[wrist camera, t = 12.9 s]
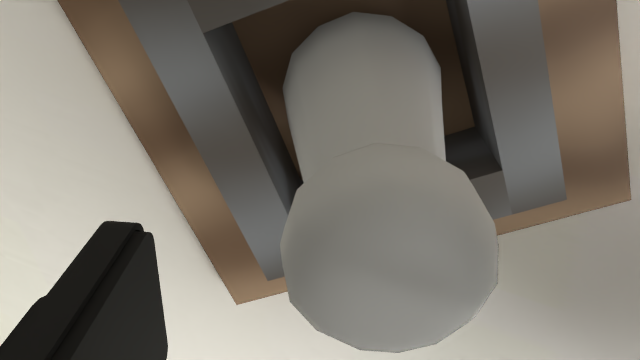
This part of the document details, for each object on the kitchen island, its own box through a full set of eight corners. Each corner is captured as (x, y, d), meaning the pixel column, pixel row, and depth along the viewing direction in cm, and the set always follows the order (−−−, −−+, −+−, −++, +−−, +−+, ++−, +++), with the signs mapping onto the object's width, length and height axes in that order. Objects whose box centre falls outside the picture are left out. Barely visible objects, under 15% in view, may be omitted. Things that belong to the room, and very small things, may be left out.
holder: (618, 186, 24) (684, 253, 19) (240, 289, 28) (222, 365, 23) (570, -359, 15) (674, -472, 10) (19, -98, 19) (-82, -97, 14)
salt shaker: (260, 53, 20) (164, 253, 9) (384, -32, 18) (466, 76, 7) (338, 162, 22) (344, 431, 11) (455, 95, 21) (603, 331, 9)
